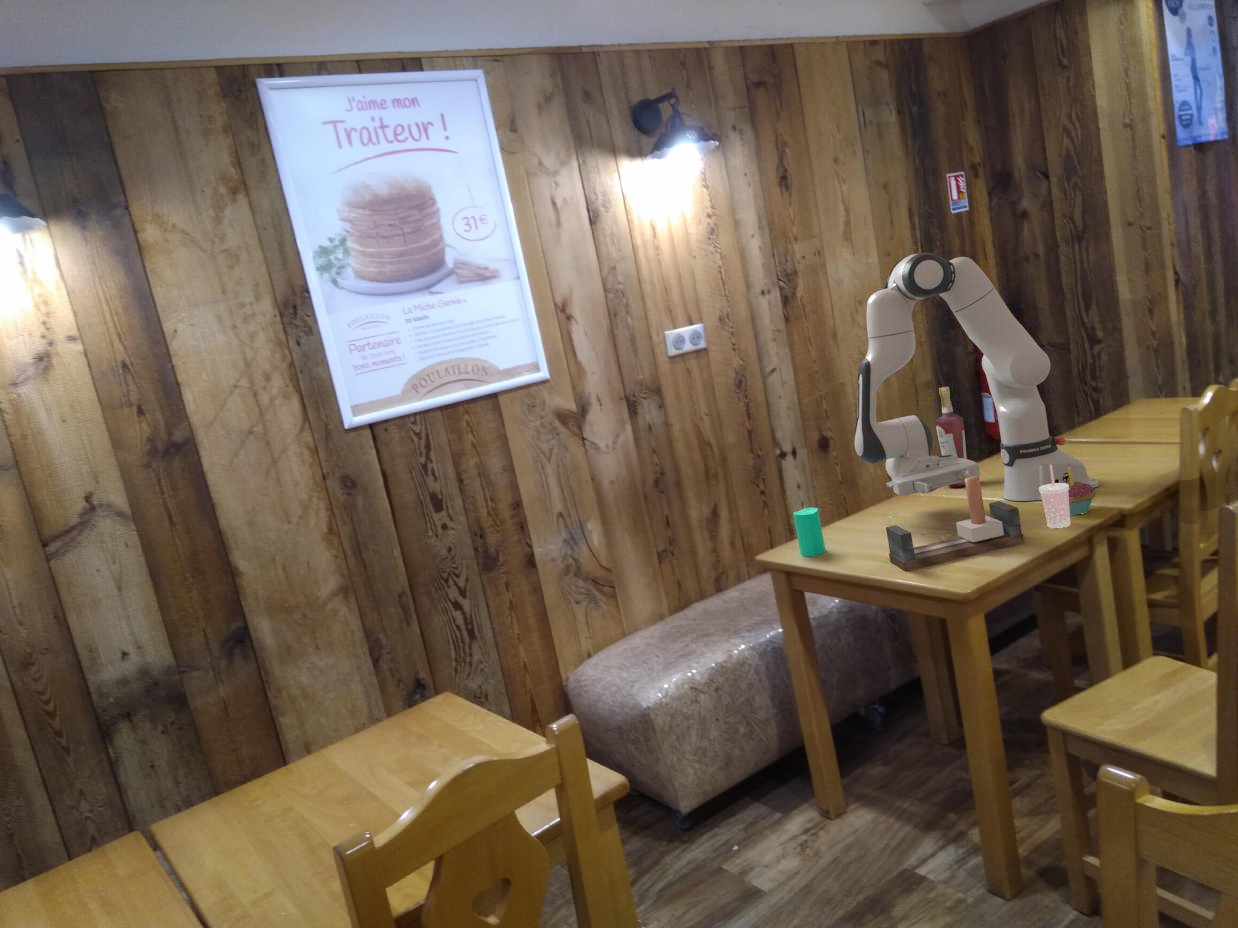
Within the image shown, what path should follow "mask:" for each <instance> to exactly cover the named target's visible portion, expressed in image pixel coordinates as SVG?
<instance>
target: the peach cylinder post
mask: <svg viewBox="0 0 1238 928" xmlns="http://www.w3.org/2000/svg"><path fill="white" fill-rule="evenodd" d="M965 485H966V486H965V491H966V496H967V504H968V510H969V516H970V517H969V519H964V520H961V521H960V520H959V521H957V522H955V524H956V530H957V531H956V532H957V533H956V534H957V537H963V538H965V539H967V540H969V541H971V542H977V541H981V540H985V539H989V538H994V537H998V536H1002V535H1004V532H1003V525H1002V522H1001V521H999V520H996V519H994V518H991V516H989V515H986V514H985V513H986V512H985V506H984V505H985V504H984V500H983V495H982V494H983V493H982V487H981V480H980V477H979V476H971V477H966V478H965Z"/></svg>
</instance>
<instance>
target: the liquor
mask: <svg viewBox="0 0 1238 928" xmlns="http://www.w3.org/2000/svg"><path fill="white" fill-rule="evenodd" d="M938 392H939V395H940V400H941V415H942V416H940V417H938V418H937V419H936V420H935V423H934V424H935V428H936V432H937V433H936V434H937V437H938V442H939V443H938V444H939V448H940V453H941V456H944V455H957V456H958V458H964V459H968V455H967V447H966V435H965V426H964V417H963V416H960V415H959V414H955V413H954V409H953V405H952V401H951V392H950V387H949V386H942V387H939V388H938ZM948 486H949V487H950V488H952V489H953V488H955V489H959V488H964V487H966V485H965V482H960V483H956V484H952V485H948Z"/></svg>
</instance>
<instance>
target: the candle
mask: <svg viewBox="0 0 1238 928" xmlns="http://www.w3.org/2000/svg"><path fill="white" fill-rule="evenodd" d="M803 506H804V508H803V509H801V510H799V511H794V512H793V520H794V524H795V531H796V536H797V541H798V547H799V552H800V556H802V557H816V556H820V555H822V554H824V553H825V552H826V546H825V540H824V535H823V534H824V533H823V530H822V528H823V527H822V524H821V523H822V522H821V518H820V513H819V508H818V507H806V505H805V504H804V505H803Z"/></svg>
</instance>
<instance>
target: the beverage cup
mask: <svg viewBox="0 0 1238 928" xmlns="http://www.w3.org/2000/svg"><path fill="white" fill-rule="evenodd" d="M1050 472H1051V479H1052V484H1046V485H1043V486H1040V487H1039V492H1040V493H1041V497H1042V500H1041V501H1042V506H1043V510H1044V516H1045V519H1046V525H1047V528H1049V527H1050V528H1049V529H1054V528H1059V529H1064V528H1063V527H1065V528H1068V527H1070V526H1071V515H1070V510H1069V494H1068V490H1069V485H1068V484H1065V483H1054V477H1053V469H1052V464H1051V465H1050ZM1069 525H1070V526H1069ZM1067 526H1068V527H1067Z"/></svg>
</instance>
